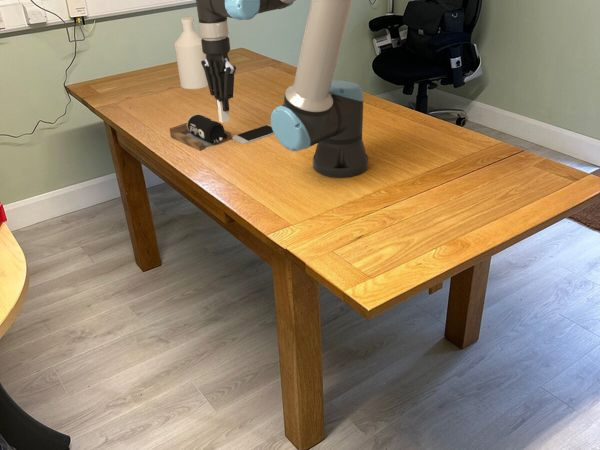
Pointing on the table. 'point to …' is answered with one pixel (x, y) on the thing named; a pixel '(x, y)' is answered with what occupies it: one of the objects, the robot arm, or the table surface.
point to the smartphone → (254, 134)
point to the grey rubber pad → (201, 140)
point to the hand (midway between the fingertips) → (224, 121)
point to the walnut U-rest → (180, 135)
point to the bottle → (190, 57)
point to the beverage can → (205, 128)
